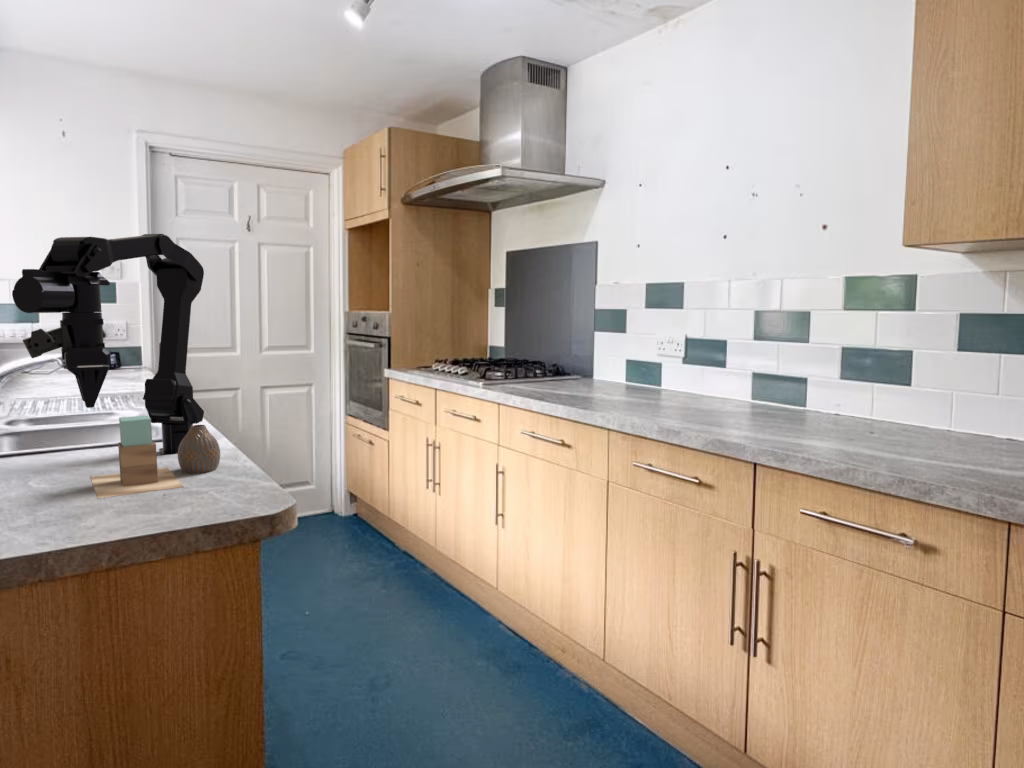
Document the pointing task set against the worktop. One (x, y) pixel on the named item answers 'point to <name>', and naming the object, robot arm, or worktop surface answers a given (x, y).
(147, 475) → the tower base
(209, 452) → the vase
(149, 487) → the beech board
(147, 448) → the tower top
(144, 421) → the cube
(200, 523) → the worktop surface
